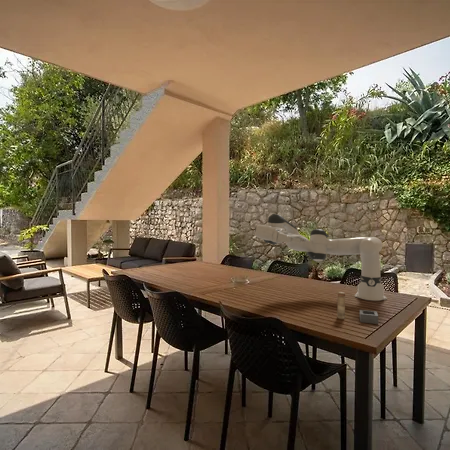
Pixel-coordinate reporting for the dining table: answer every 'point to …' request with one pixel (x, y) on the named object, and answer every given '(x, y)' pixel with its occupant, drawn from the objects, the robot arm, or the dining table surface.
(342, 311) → the dowel
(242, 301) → the dining table surface
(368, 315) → the square socket block
